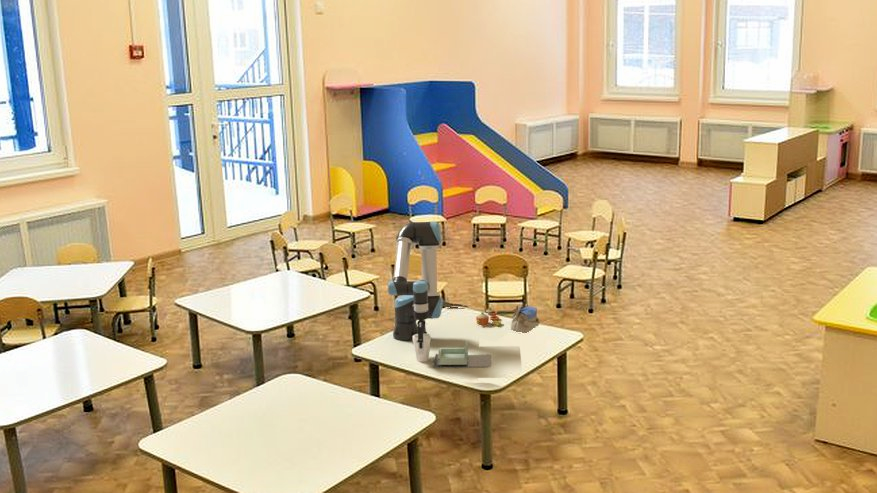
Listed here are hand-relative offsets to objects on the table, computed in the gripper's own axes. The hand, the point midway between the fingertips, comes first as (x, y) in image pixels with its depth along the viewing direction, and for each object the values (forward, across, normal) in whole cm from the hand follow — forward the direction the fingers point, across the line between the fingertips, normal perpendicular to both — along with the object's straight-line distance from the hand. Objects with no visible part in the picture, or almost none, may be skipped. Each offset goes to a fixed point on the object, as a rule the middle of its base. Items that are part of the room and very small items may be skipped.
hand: (422, 350), depth 454 cm
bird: (+4, -86, +13) cm, 87 cm away
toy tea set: (+5, -64, +34) cm, 72 cm away
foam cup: (+6, 0, 0) cm, 6 cm away
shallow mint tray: (+6, +3, +16) cm, 17 cm away
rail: (+6, +3, +22) cm, 22 cm away
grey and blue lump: (+5, -53, +56) cm, 78 cm away
